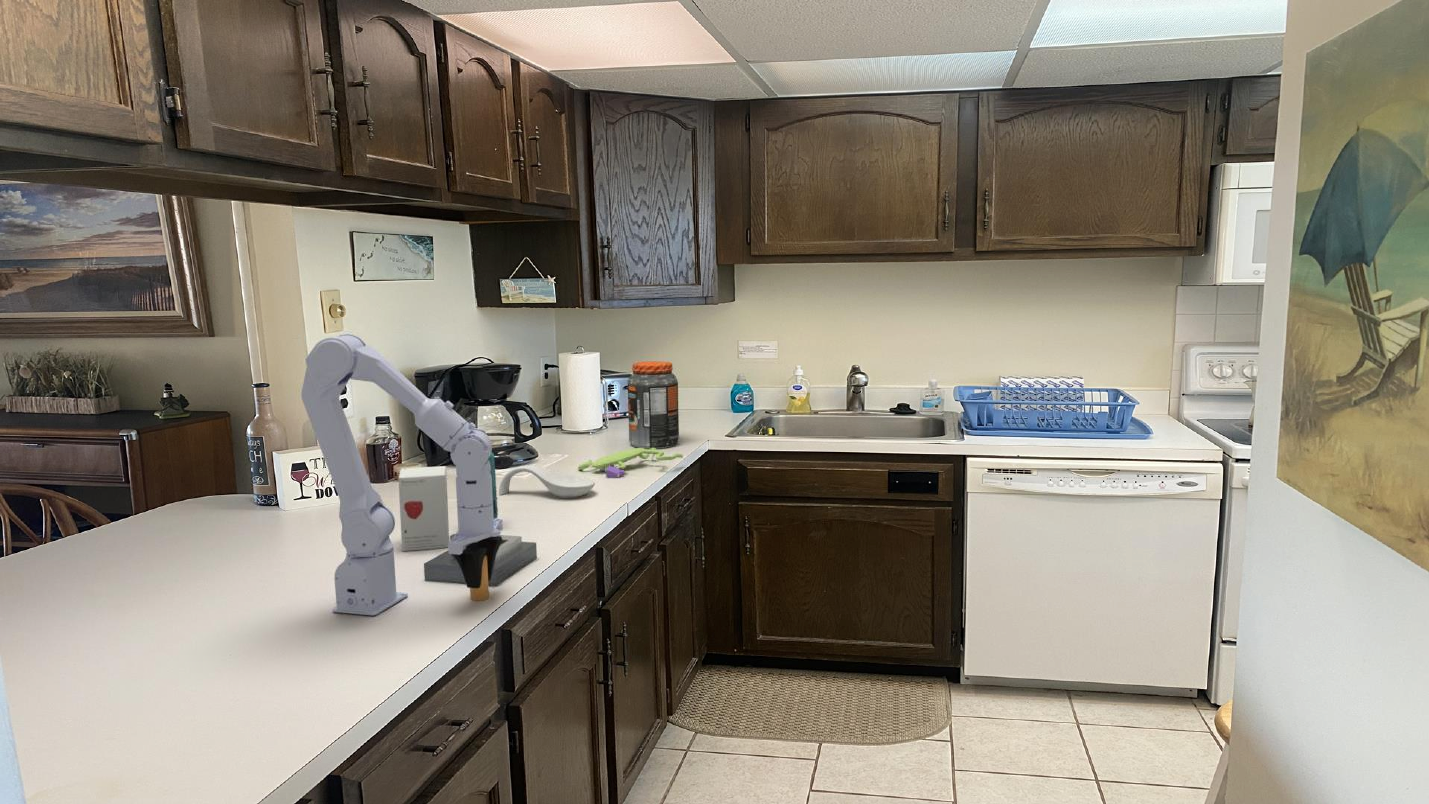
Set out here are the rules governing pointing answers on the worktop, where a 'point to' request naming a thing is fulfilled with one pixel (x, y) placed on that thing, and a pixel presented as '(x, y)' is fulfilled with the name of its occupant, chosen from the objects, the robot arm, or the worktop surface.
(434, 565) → the grey peg socket block
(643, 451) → the figurine
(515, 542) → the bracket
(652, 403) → the supplement tub
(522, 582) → the worktop surface
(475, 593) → the pin
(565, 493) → the spoon rest
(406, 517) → the supplement box
